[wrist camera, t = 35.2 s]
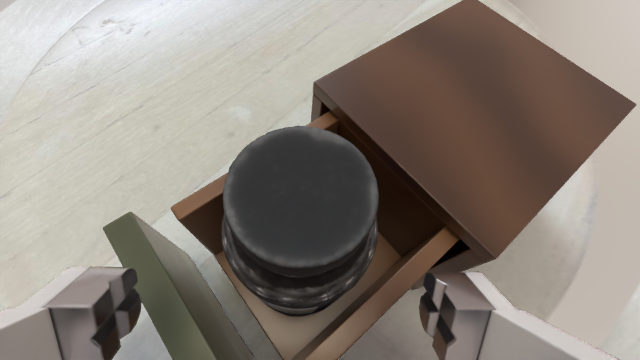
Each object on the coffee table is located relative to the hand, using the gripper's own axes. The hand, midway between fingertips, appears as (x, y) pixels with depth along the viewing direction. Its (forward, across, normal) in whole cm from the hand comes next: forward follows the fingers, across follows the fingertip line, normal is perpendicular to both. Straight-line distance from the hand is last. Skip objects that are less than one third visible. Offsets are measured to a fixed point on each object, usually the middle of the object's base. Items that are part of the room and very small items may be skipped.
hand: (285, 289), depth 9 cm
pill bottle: (+9, 0, +5) cm, 11 cm away
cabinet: (+16, -10, +1) cm, 19 cm away
